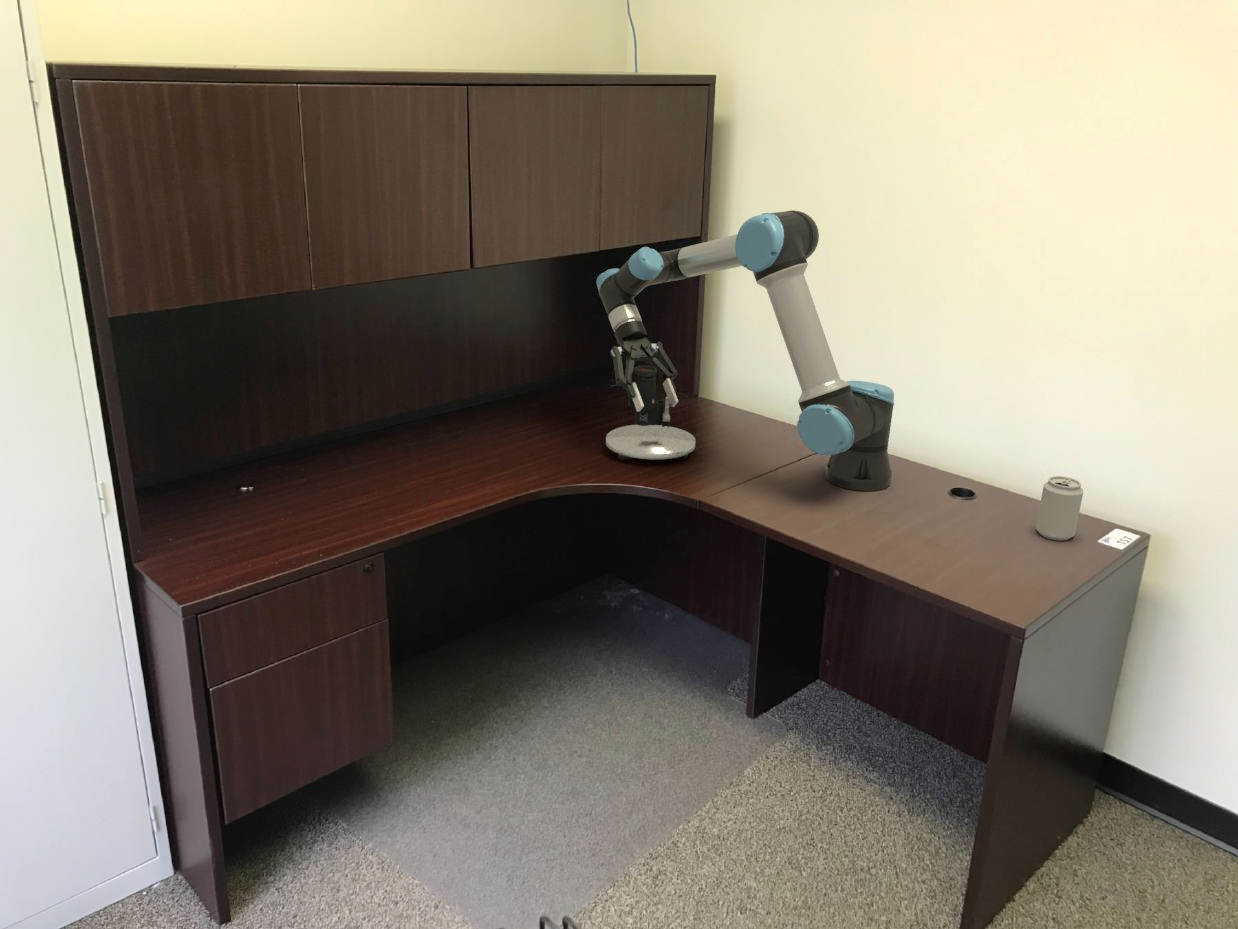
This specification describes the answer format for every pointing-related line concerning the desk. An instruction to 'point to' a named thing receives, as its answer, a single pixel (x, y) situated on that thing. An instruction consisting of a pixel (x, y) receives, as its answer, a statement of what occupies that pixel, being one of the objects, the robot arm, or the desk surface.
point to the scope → (649, 399)
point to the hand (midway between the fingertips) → (657, 406)
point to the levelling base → (650, 442)
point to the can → (1059, 508)
